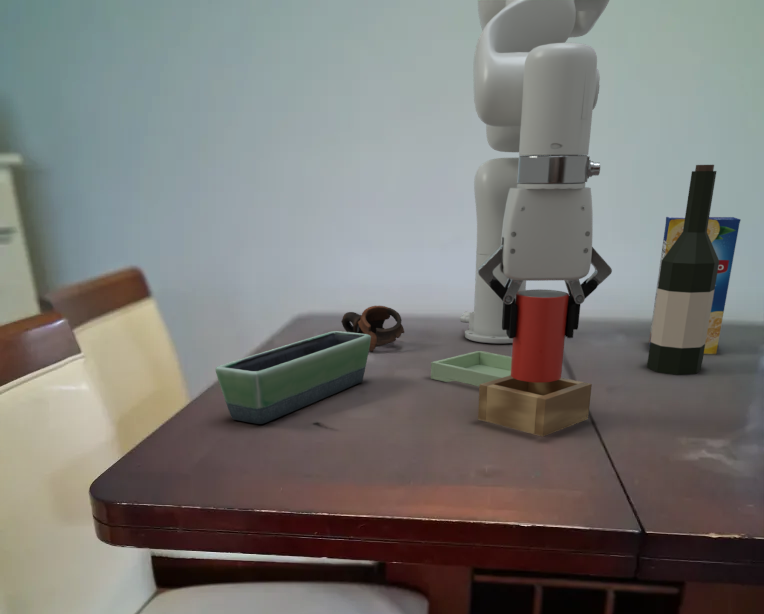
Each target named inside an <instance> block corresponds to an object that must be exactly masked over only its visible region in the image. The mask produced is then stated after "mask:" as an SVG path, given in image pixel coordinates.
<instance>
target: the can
mask: <svg viewBox="0 0 764 614" xmlns="http://www.w3.org/2000/svg"><path fill="white" fill-rule="evenodd" d="M568 300H569V293H568V292H567V291H562V290H555V289H526V290H524V291H519V292H517V294H516V300H515V304H516V305H517V322H516V336H515V337H514V338H513V343H512V347H511V357H512V361H511V377H513V378H514V379H517V380H520V381H526V382H537V383H542V382H552V381H556V380H559V379H560V378H562V374H563V373H562V371H563V361H564V352H565V351H564V350H565V341H566V336H565V331H566V321H567V310H568Z"/></svg>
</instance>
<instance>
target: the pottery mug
mask: <svg viewBox="0 0 764 614" xmlns="http://www.w3.org/2000/svg"><path fill="white" fill-rule="evenodd" d="M391 317H392V318H393V319H394V320H395V322H396V323H395V325H393V326H391V327H388V328H387V327H386V328H385V327H384V324H385V322H386V320H389V319H390V318H391ZM402 320H403V319H402V316H401V314H400V313H399V312H398V311H396V310H395V309H393V308H392V307H388V306H384V305H371V306H369V307H367V308H365V309H364V310H363V311H362V313H361V314H359V313H357V312H354V311H347V312H346V313H344V314H343V316H342V319H341V321H340V322H341V324H342V327H343V329H344V330H345V332H351V333H360V334H368V335H370V336H371V341H370V347H369V352H373V351H375V349H376V347H380V346H384V345H387V344H390V343H392V342H396V341H397V339H400V337H401V335H402V334H404V333H406V332H405V328H404V326H403V325H402V322H403V321H402Z"/></svg>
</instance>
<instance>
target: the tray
mask: <svg viewBox="0 0 764 614" xmlns="http://www.w3.org/2000/svg"><path fill="white" fill-rule="evenodd" d="M511 361H512V356H510V355H504V354H499V353H495V352H494V353H493V352H488V351H483V350H475V351H472V352H467V353H463V354H459V355H456V356H452V357H451V356H450V357H446V358H443V359H439V360H434V361H431V362H430V380H431V379H432V380H435V381H440V382H444V383H450V382H458V383H463V384H466V385H472V386H475V387H480V384H482V383H486V382H489V381H493V380H496V379H500V378H503V377H507V376H510V375H511Z"/></svg>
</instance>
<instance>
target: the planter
mask: <svg viewBox="0 0 764 614" xmlns="http://www.w3.org/2000/svg"><path fill="white" fill-rule="evenodd" d="M370 341H371V336H370V335H368V334H360V333H351V332H347V331H341V330H332V331H329V332H325V333H322V334H319V335H315V336H312V337H308V338H305V339H301V340H299V341H295V342H292V343H289V344H286V345H282V346H278V347H276V348H272V349H268V350H266V351H262V352H260V353H256V354H252V355H249V356H246V357H243V358H240V359H236V360H233V361H230V362H227V363H224V364H221V365H218V366H216V367H215V375H216V377H217V381H218V384H219V386H220V389H221V392H222V395H223V398H224V401H225V403H226V407H227V409H228V412H229V414H230V417H231V419H232V420H235V421H238V422H245V423H249V424H255V425H263V424H266V423H268V422H271V421H274V420H277V419H278V418H281V417H283V416H286V415H288V414H290V413H293V412H295V411H297V410H299V409H302V408H304V407H306V406H309V405H311V404H313V403H316V402H319V401H321V400H324V399H326V398H328V397H330V396H333V395H335V394H337V393H340V392H342V391H344V390H346V389H347V390H348V388H351V387H353V386H355V385H359V384H360V383H362V382H363V380H364V376H365V372H366V367H367V362H368V358H369V352H370V350H369V347H370Z"/></svg>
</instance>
